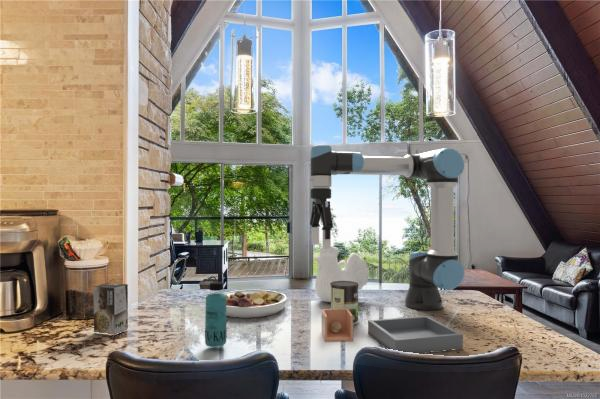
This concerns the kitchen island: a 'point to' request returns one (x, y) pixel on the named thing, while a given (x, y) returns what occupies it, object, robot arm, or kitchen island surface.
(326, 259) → the decorative rooster
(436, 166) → the robot arm
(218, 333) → the beverage bottle
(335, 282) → the coffee can
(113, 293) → the coffee box
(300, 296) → the kitchen island surface
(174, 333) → the kitchen island surface
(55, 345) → the kitchen island surface
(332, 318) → the open brown box
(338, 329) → the ball
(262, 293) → the bowl
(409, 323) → the tray
